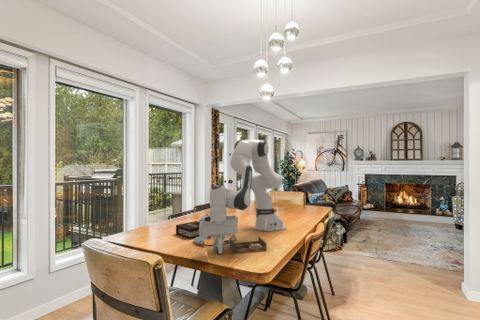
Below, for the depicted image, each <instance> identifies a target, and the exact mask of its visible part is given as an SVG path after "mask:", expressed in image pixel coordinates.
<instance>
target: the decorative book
mask: <svg viewBox="0 0 480 320" xmlns="http://www.w3.org/2000/svg"><path fill="white" fill-rule="evenodd" d="M201 221H202V220H201V219H199V220H196V221H189V222H185V223H179V224H176V225H175V235H177V236H178V235H179V237H181V236H182V238H184V237H185V238H184V239H188V240H194V238H196V237H198V236H200V235H199V224H200V222H201Z"/></svg>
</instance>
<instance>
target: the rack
mask: <svg viewBox="0 0 480 320" xmlns="http://www.w3.org/2000/svg"><path fill="white" fill-rule="evenodd" d="M257 239H258V240H252V241H251V240H250V241H241V242H234V241H232V240H233V239H230V240H229V241H230V242H229V248H230V249H231V251H232V253H233V254H234V255H235V254H246V253H255V252H257V253H258V252H267V242H266V241H265V240H264V238H262V237H260V236H258V237H257ZM251 244H259V245H261V246H262V247H257V248H249V246H250V245H251Z"/></svg>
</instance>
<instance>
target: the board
mask: <svg viewBox="0 0 480 320" xmlns="http://www.w3.org/2000/svg"><path fill="white" fill-rule="evenodd" d="M215 240H217V244H216V245H215V246H216V248H217V254H223V253H222V245H223V243H222V238H221V236H220V235H216V239H215Z"/></svg>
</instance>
